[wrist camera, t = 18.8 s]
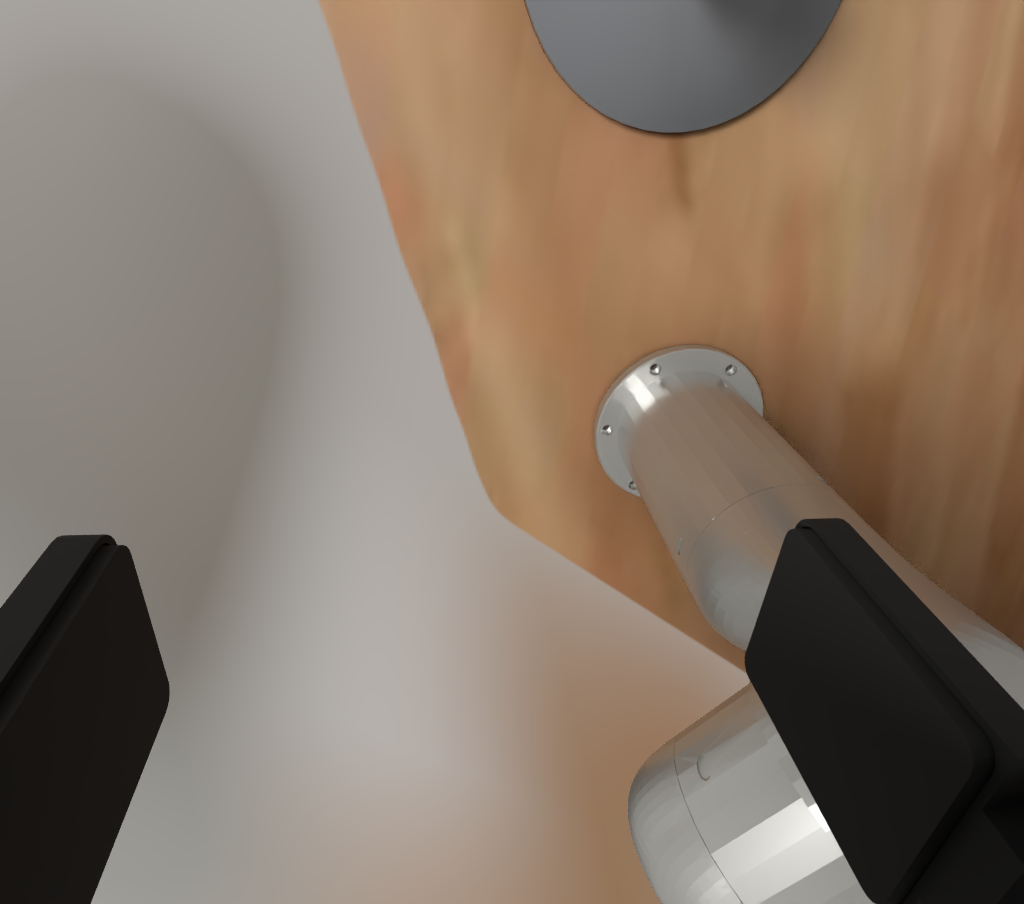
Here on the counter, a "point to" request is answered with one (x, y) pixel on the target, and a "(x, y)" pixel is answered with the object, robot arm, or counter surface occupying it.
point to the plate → (677, 54)
